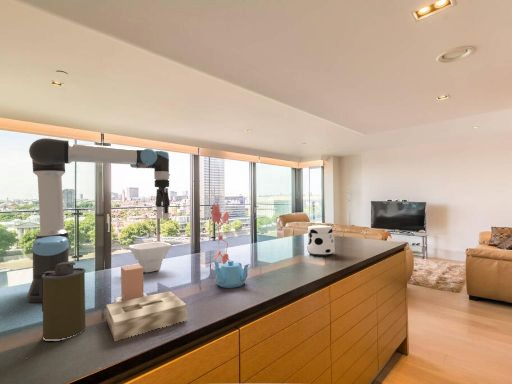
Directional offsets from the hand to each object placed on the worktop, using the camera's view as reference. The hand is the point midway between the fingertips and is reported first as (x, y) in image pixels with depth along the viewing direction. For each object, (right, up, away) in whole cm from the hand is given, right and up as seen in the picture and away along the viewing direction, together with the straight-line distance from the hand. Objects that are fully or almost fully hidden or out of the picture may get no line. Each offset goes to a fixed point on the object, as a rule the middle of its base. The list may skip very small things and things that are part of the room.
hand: (162, 219), depth 149 cm
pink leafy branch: (+28, -27, +11) cm, 40 cm away
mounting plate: (+16, -26, -63) cm, 70 cm away
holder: (+7, -26, -51) cm, 58 cm away
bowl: (-6, -28, -2) cm, 28 cm away
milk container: (+92, -26, +29) cm, 100 cm away
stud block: (+7, -26, -51) cm, 57 cm away
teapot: (+39, -26, -29) cm, 55 cm away
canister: (-5, -26, -70) cm, 75 cm away
